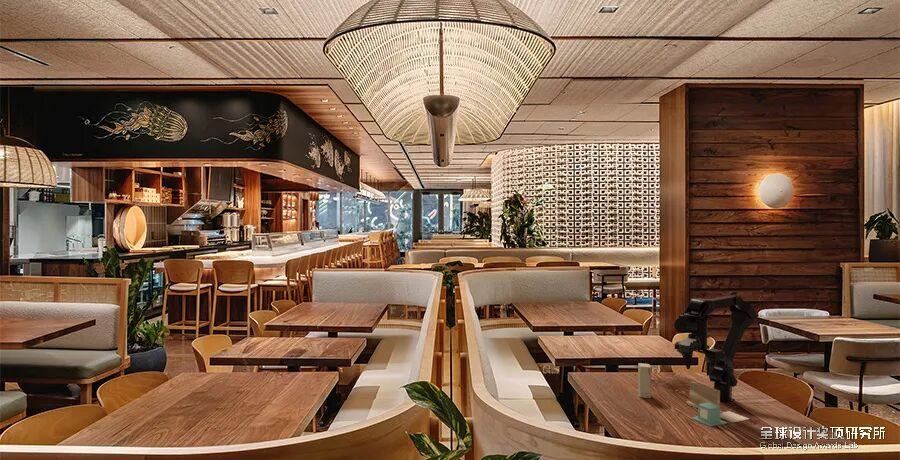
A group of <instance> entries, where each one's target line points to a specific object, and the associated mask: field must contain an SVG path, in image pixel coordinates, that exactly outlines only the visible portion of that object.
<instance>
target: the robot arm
mask: <svg viewBox="0 0 900 460" xmlns="http://www.w3.org/2000/svg"><path fill="white" fill-rule="evenodd" d="M725 308H727V309H728V311H729V312H730V321H731V326H730V328H729V330H728V334H727V336H726V338H725V340H724V343H723V344H722V345H723V346H722V348H721V350H720V349H717V348H710V345H708V339H710V337H711V335H710V334H708V329H709V327H708V326H709V321H712V320H713V318H712V317H711V316H710V314H712V313H714V311H716V310H719V309H725ZM756 317H757V311H756V308H754V307H753V306H752V305H751V304H750V303H748V302H747V301H745V300H744V299H743V298H742V297H741V296H739V295H736V294H727V295H724V296H722V295H721V296H719V297H712V298H701V297H700V298H698V297H697V298H696V297H694V298H691V299H690V301H689V302H688V304H687V307H686V308H685V309H684V312H683V313H682V314H679V315H678V318H676V319H675V320H674V324H673V325H674V329H675V331H676V332H677V334H688V335H687V338H685V339H683V340H680V341H676V342H675V343H674V349H675V350H676V352H678V353H679V354H680V355H681V356H682V358H683V361H684V364H685V366H686V370H691V367H692V366H691V364H692V361H693V354H694V352H696V353H700V354H703V355H704V356H705V357H704V361H705V362H706V371H705V372H706V376H707V377H708V379H709V381H710V382H713V388H714V389H717V390H720V402H723V403H726V402H727V403H728V402H734V401H736V399H735V398H733V397H732V396H733V395H732V393H733V392H732V391H733V388H734V387H737V384H738V382H739V381H738V379H737V378H736V376H735V375H734V370H735V368H734V364H733V361H734V358H735V356H736V353H737V350H738V348H739V345H740V343H741V341H742V339H743V336H744V333H745V331H746V330H747V328H749V327H751V325H753V323H754V321H755V319H756Z"/></svg>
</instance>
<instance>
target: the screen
mask: <svg viewBox="0 0 900 460" xmlns="http://www.w3.org/2000/svg"><path fill="white" fill-rule="evenodd" d="M703 403H711V404H714V405H716V406H719V407H721V406H720V405H721V404H720V403H721V401H720V390H717V389H714V387H711V386H707V385H705V384H701V383H699V382H695V381H690V382H689V400H688V401H685V405H687V404H688V405H687V406H690V407H692V406H693V407H692V408H694V409H697V408H698V404H703ZM723 412H724V411H723V410H720V413H723Z"/></svg>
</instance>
